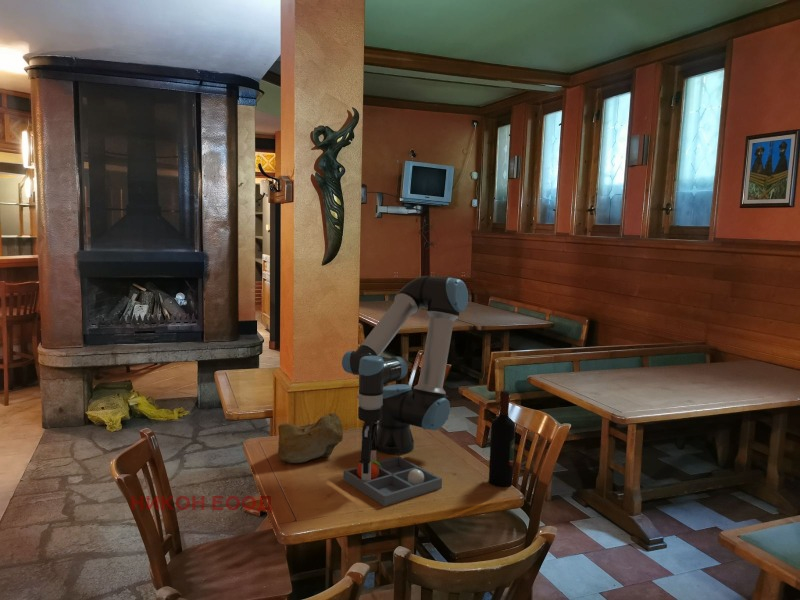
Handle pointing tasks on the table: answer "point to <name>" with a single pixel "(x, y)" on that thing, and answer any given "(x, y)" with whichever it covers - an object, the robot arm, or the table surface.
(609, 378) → the table surface
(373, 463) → the clementine
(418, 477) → the cream egg
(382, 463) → the divided tray
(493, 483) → the wine bottle
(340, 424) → the rough brown rock
